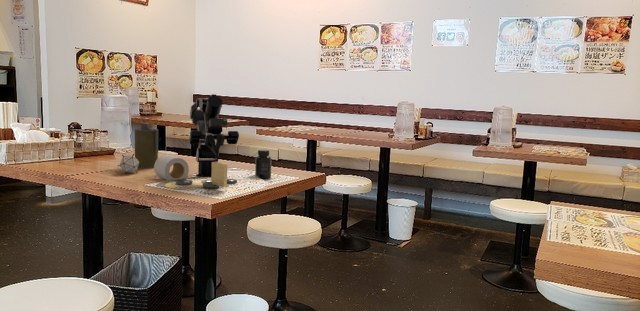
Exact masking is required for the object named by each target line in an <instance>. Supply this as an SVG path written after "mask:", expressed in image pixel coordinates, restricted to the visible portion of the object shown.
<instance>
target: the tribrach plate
mask: <svg viewBox="0 0 640 311" xmlns="http://www.w3.org/2000/svg"><path fill="white" fill-rule="evenodd" d="M204 182H211V179H210V180H209V179H203V180H201V183H202V184H203V183H204ZM233 184H234V185H235V184H238V180H237V179H235V178H227V185H233ZM175 185H176V186H192V185H193V180H190V179H176V180H175Z"/></svg>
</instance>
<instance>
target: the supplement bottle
mask: <svg viewBox="0 0 640 311" xmlns="http://www.w3.org/2000/svg"><path fill="white" fill-rule="evenodd" d="M254 163H255V166H254V167H255V169H254V170H255V172H254V175H255V177H258V178H260V179H261V180H268V179H272V157H271V156H270V150H268V149H258V151H257V156H256V157H255V162H254Z"/></svg>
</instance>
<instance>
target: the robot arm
mask: <svg viewBox="0 0 640 311" xmlns="http://www.w3.org/2000/svg"><path fill="white" fill-rule="evenodd" d="M222 108H223V99H222V98H221V97H219V96H217V94H215V93H212V94H211V95H210V96H209V97H201V98H200V97H199V98H198V97H197V98H195V102H194V103H193V104H192V105H191V107H190V111H189V118H190V120H191V123H192V124H193V125H194V126H196V128H197V129H196V130H190V133H189V138H188V140H189V141H188V142H189V144H190V145H198V147H197V148H196V154H195V161H196V162H197V163H198V165H197V166H198V168H197V169H198V172H197V174H195V176H198V177H202V178H211V174H212V162H218V163H219V157H220V156H219V155H220V148H221V146H222V147H223V146H224V143H225V140H226V143H227V145H237V144H238V141H239V139H240V138H239V137H240V133H239V132H238V130H228V132H227V133H223V127H225V128H226V127H227V126H228V124H229V123H228V118H227V117H221V118H219V115H220V114H221V111H222V110H221V109H222Z"/></svg>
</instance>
